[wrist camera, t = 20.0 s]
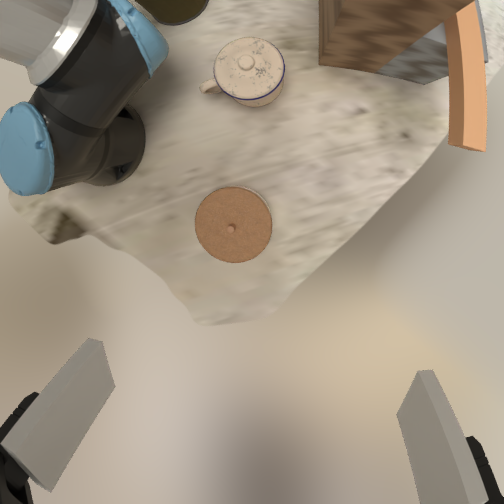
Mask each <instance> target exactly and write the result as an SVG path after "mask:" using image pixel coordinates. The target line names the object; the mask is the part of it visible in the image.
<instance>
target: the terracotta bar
mask: <svg viewBox="0 0 504 504" xmlns="http://www.w3.org/2000/svg"><path fill="white" fill-rule="evenodd" d="M444 26H445V34H446V43H447V54H448V68H449V138H448V139H449V140H448V144H449V145H453V146H457V147H460V148H464V149H468V150H473V151H481V152H485V151H486V131H487V94H486V75H485V63H484V54H483V46H482V38H481V32H480V26H479V20H478V15H477V10H476V6H475V1H473V2H472V3H470V4H469V5H467V6H466V7H464V8H463V9H461V10H460V11H458V12H457V13H455V14H454V15H452V16H451V17H450V18H448V19H447V20H445V21H444Z"/></svg>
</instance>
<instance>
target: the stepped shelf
mask: <svg viewBox="0 0 504 504" xmlns="http://www.w3.org/2000/svg"><path fill="white" fill-rule="evenodd" d="M473 1H475V6H476V10H477V15H478V20H479V26H480V32H481V38H482V46H483V54H484V63H487V62H488V53H487V45H486V38H485V32H484V26H483V20H482V15H481V10H480V6H479V1H478V0H319V65H325V66H333V67H340V68H347V69H354V70H360V71H365V72H371V73H376V74H381V75H386V76H391V77H395V78H399V79H404V80H408V81H412V82H416V83H419V84H423V85H425V84H428V83H430V82H433V81H435V80H438V79H441V78H444V77H446V76H449V68H448V54H447V43H446V34H445V26H444V21H445V20H447V19H448V18H450V17H451V16H452V15H454V14H455V13H457V12H458V11H460V10H461V9H463V8H464V7H466V6H467V5H469V4H470V3H472V2H473Z"/></svg>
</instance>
